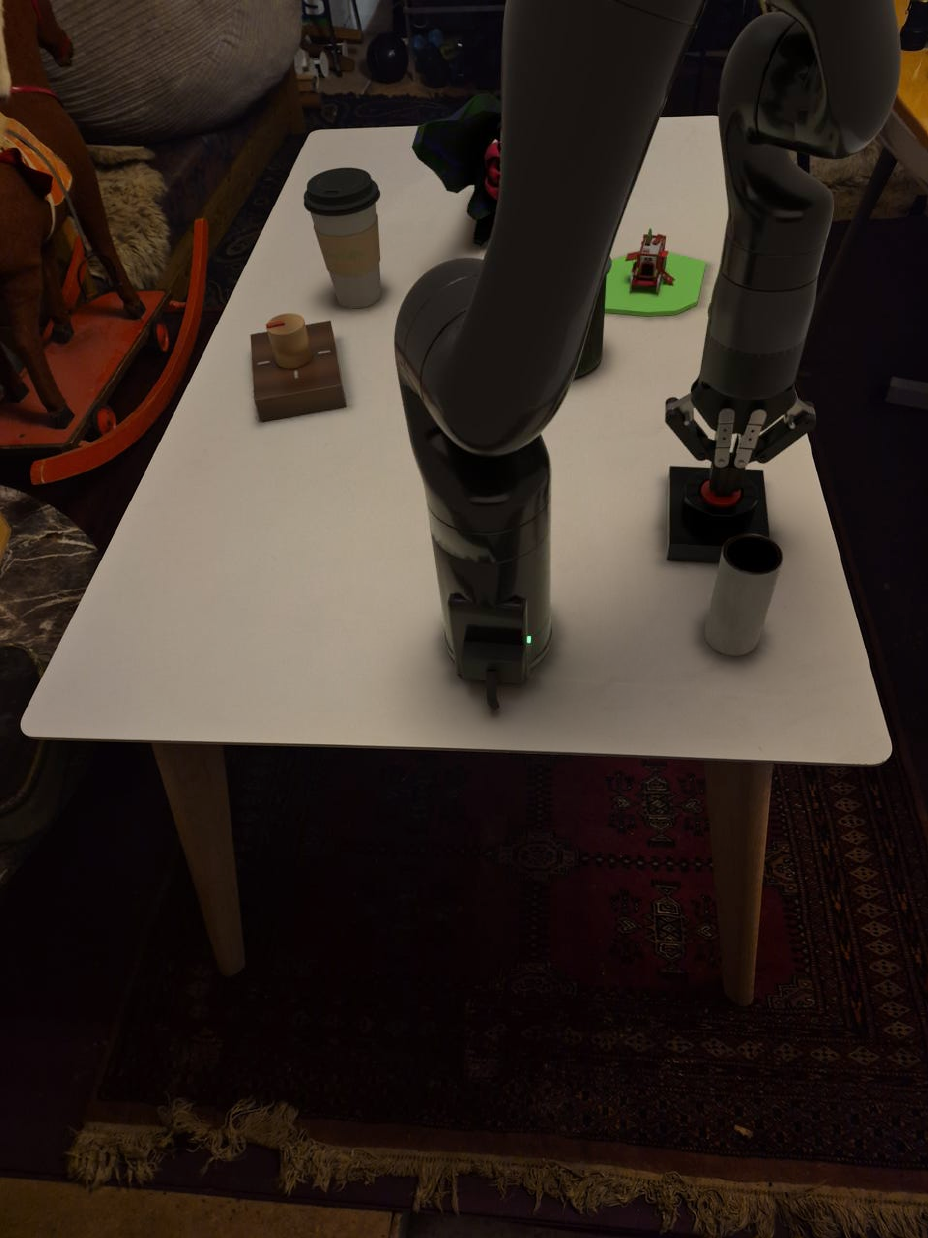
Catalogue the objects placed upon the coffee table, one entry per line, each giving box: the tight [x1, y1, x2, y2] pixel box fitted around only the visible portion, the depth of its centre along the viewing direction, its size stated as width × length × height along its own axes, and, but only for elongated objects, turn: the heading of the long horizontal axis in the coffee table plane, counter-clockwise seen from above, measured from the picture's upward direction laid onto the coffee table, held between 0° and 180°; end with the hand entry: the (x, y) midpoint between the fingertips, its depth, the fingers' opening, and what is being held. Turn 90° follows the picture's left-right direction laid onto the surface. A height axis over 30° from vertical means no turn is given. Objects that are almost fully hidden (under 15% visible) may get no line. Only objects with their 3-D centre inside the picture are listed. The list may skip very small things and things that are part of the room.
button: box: [700, 480, 741, 507], centre depth 80 cm, size 4×4×2 cm
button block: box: [666, 465, 771, 564], centre depth 81 cm, size 11×9×4 cm
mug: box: [573, 255, 612, 379], centre depth 98 cm, size 11×15×12 cm
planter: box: [704, 533, 784, 657], centre depth 70 cm, size 4×4×10 cm
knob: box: [265, 312, 312, 369], centre depth 99 cm, size 4×4×5 cm
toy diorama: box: [605, 227, 707, 317], centre depth 109 cm, size 15×15×6 cm
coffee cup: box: [303, 167, 382, 309], centre depth 109 cm, size 9×9×15 cm
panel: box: [249, 320, 348, 423], centre depth 102 cm, size 14×10×3 cm
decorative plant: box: [411, 92, 501, 248], centre depth 115 cm, size 21×26×30 cm
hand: (723, 490), depth 80 cm, fingers closed
